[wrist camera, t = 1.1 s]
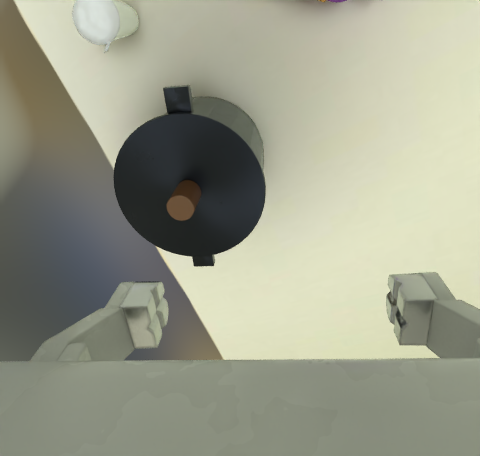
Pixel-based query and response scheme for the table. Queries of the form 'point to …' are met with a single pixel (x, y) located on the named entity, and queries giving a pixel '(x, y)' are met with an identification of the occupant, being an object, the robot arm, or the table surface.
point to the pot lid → (189, 184)
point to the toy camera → (333, 0)
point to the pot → (222, 111)
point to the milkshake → (104, 20)
